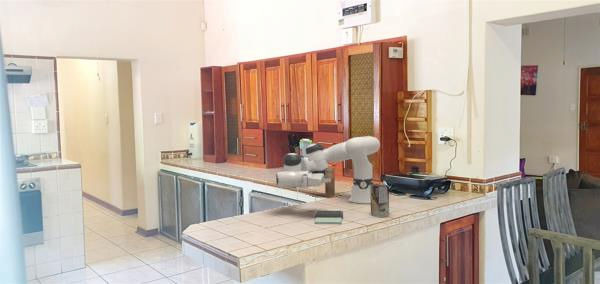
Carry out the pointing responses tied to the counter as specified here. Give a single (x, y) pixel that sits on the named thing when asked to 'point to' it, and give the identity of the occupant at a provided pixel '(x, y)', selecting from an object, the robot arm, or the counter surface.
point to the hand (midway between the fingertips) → (331, 179)
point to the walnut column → (330, 185)
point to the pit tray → (329, 214)
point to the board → (328, 220)
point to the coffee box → (379, 200)
